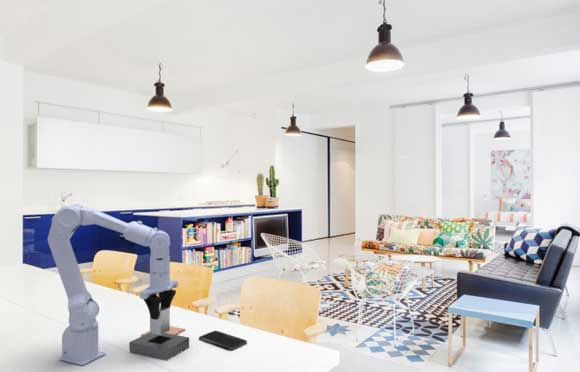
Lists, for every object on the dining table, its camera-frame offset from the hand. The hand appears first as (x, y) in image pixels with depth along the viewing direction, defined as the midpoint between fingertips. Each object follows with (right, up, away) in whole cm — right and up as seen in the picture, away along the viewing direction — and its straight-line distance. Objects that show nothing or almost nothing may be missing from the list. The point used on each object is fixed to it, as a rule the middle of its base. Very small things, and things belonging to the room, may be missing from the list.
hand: (159, 316), depth 120 cm
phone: (+18, -11, +7) cm, 22 cm away
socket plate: (0, -10, 0) cm, 10 cm away
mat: (-3, -10, +13) cm, 17 cm away
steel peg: (0, -5, 0) cm, 5 cm away
